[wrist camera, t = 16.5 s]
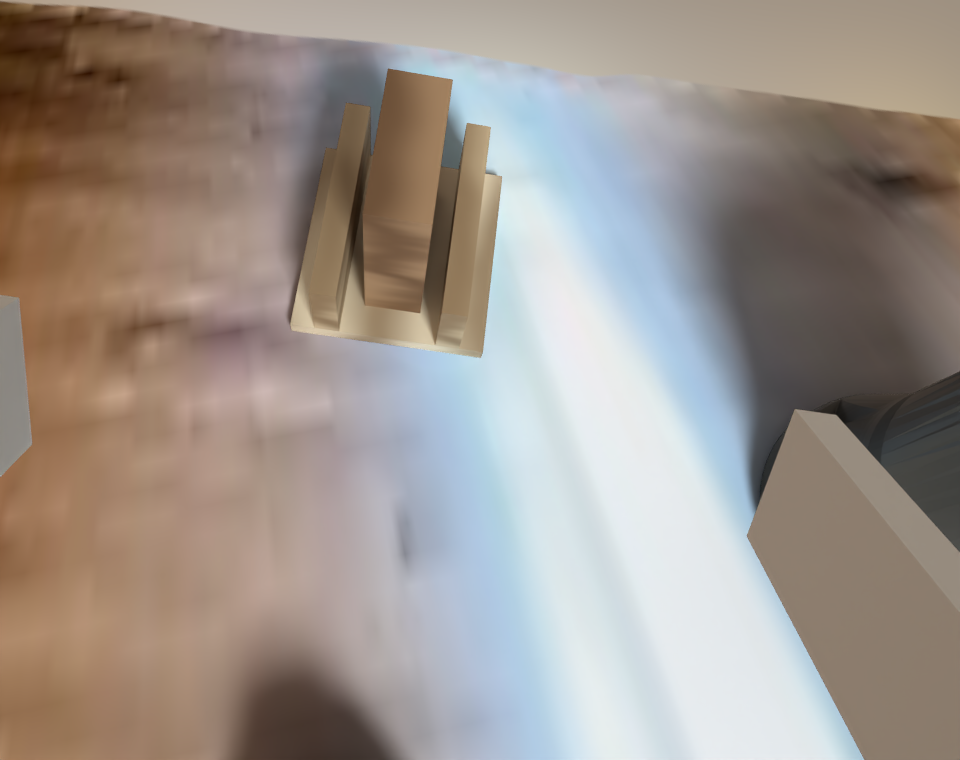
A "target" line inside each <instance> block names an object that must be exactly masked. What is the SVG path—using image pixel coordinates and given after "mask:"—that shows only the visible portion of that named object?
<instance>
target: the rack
mask: <svg viewBox="0 0 960 760" xmlns="http://www.w3.org/2000/svg"><path fill="white" fill-rule="evenodd" d="M490 129H491V127H487V126H482V125H476V124H470V123H467V125H466V131H465V137H464V142H463V148H462V154H461V160H460V165H459V169H453V168H447V167H441V168H440V176H439V183H438V190H437V197H436V204H435V212H434V219H433V226H432V233H431V240H430V247H429V255H428V262H427V269H426V276H425V283H424V290H423V298H422V305H421V312H420V313H414V312H407V311H400V310H393V309H386V308H379V307H373V306H366V305H365V289H364V249H363V209H364V203H365V197H366V192H367V186H368V180H369V175H370V169H371V163H372V158H373V155H371V122H370V107H369V106H363V105H357V104H352V103H346V105H345V110H344V115H343V120H342V125H341V130H340V135H339V141H338V146H337V149H332V148H326V150H325V155H324V160H323V165H322V170H321V175H320V180H319V185H318V190H317V195H316V199H315V204H314V209H313V214H312V219H311V224H310V229H309V234H308V239H307V244H306V249H305V254H304V259H303V264H302V269H301V274H300V278H299V283H298V288H297V293H296V298H295V303H294V308H293V313H292V318H291V323H290V325H291V329H292V331H298V332H305V333H312V334H319V335H326V336H333V337H340V338H347V339H354V340H361V341H368V342H375V343H382V344H389V345H395V346H402V347H409V348H416V349H423V350H430V351H437V352H444V353H451V354H458V355H465V356H472V357H479V358H481V356H482V353H483V345H484V336H485V327H486V318H487V309H488V300H489V291H490V282H491V273H492V264H493V255H494V246H495V237H496V228H497V219H498V210H499V201H500V192H501V183H502V176H496V175H490V174H485V171H486V163H487V154H488V146H489V137H490Z"/></svg>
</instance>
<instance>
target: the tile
mask: <svg viewBox="0 0 960 760" xmlns="http://www.w3.org/2000/svg"><path fill="white" fill-rule="evenodd" d="M452 81H453V80H451V79H446V78H440V77H434V76H428V75H422V74H416V73H411V72H405V71H399V70H393V69H388V72H387V78H386V83H385V89H384V95H383V100H382V106H381V112H380V118H379V123H378V129H377V135H376V140H375V146H374V152H373V158H372V163H371V169H370V175H369V180H368V186H367V192H366V197H365V203H364V209H363V249H364V289H365V305H366V306H373V307H379V308H386V309H393V310H400V311H407V312H414V313H420V312H421V305H422V298H423V290H424V283H425V276H426V269H427V262H428V255H429V247H430V240H431V233H432V226H433V219H434V212H435V204H436V197H437V190H438V183H439V176H440V168H441V161H442V154H443V147H444V139H445V132H446V125H447V118H448V110H449V103H450V96H451V89H452Z"/></svg>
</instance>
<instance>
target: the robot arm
mask: <svg viewBox="0 0 960 760" xmlns="http://www.w3.org/2000/svg"><path fill="white" fill-rule="evenodd" d="M31 445H32V437H31V426H30V415H29V404H28V393H27V382H26V371H25V360H24V348H23V337H22V326H21V315H20V304H19V298H17V297H10V296H3V295H0V477H1V476H2V475H3V474H4V472H5V471H6V470H7V469H8V468H9V467H10V466H11V465H12V464H13V463H14V462H15V461H16V460H17V459H18V458H19V457H20V456H21V455H22V454H23V453H24V452H25V451H26V450H27V449H28V448H29V447H30V446H31ZM747 538H748V539H749V541H750V543H751V545H752V547H753V549H754V551H755V553H756V555H757V557H758V558H759V560H760V562H761V564H762V566H763V568H764V570H765V572H766V574H767V576H768V577H769V579H770V581H771V583H772V585H773V587H774V589H775V591H776V593H777V595H778V596H779V598H780V600H781V602H782V604H783V606H784V608H785V610H786V612H787V614H788V615H789V617H790V619H791V621H792V623H793V625H794V627H795V629H796V631H797V633H798V634H799V636H800V638H801V640H802V642H803V644H804V646H805V648H806V650H807V652H808V653H809V655H810V657H811V659H812V661H813V663H814V665H815V667H816V669H817V670H818V672H819V674H820V676H821V678H822V680H823V682H824V684H825V686H826V688H827V689H828V691H829V693H830V695H831V697H832V699H833V701H834V703H835V705H836V707H837V708H838V710H839V712H840V714H841V716H842V718H843V720H844V722H845V724H846V726H847V727H848V729H849V731H850V733H851V735H852V737H853V739H854V741H855V743H856V745H857V746H858V748H859V750H860V752H861V754H862V756H863V758H864V760H960V371H959V372H957V373H955V374H953V375H951V376H949V377H947V378H944V379H942V380H940V381H938V382H936V383H934V384H932V385H929V386H927V387H925V388H923V389H921V390H919V391H917V392H915V393H913V394H861V395H854V396H849V397H845V398H841V399H838V400H834V401H832V402H829V403H827V404H825V405H823V406H821V407H819V408H817V409H815V410H814V411H805V410H798V409H795V410H794V412H793V415H792V418H791V420H790V423H789V426H788V428H787V430H786V431H785V432H784V433H783V434H782V435H781V437H780V438H779V439H778V441H777V442H776V444H775V445H774V447H773V449H772V451H771V453H770V455H769V457H768V459H767V462H766V465H765V468H764V472H763V476H762V481H761V490H760V502H759V505H758V508H757V510H756V513H755V516H754V518H753V521H752V523H751V526H750V529H749V531H748V534H747Z"/></svg>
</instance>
